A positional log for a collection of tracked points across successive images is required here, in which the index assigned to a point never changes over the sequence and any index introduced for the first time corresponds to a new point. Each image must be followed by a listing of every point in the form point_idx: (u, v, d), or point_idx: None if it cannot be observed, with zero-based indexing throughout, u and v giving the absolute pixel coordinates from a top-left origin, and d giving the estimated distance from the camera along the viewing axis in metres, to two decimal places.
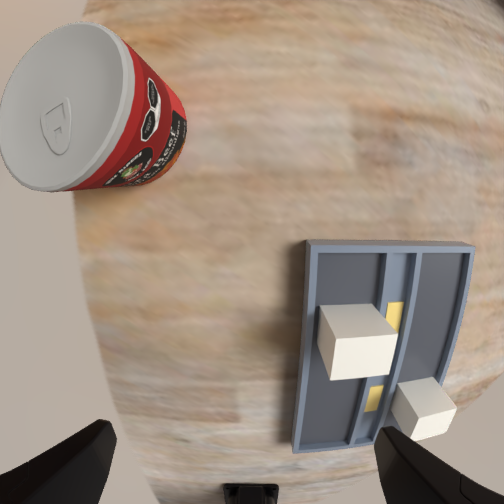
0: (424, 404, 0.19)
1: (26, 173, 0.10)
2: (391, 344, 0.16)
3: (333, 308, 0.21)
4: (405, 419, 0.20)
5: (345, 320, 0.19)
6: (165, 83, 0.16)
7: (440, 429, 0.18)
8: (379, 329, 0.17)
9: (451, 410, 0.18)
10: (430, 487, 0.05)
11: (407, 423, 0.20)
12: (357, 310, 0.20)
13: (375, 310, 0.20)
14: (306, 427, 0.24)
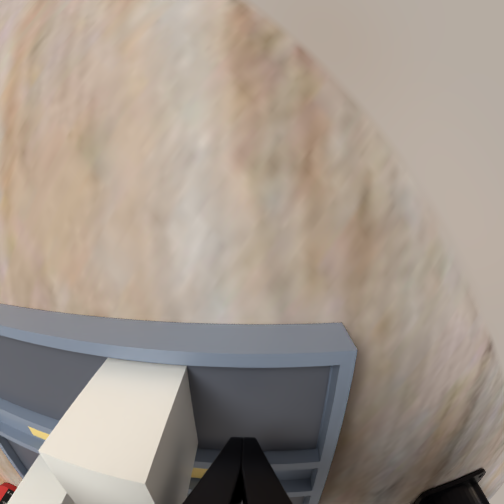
0: None
1: None
2: None
3: None
4: None
5: None
6: None
7: (127, 496, 0.05)
8: None
9: (52, 466, 0.05)
10: None
11: None
12: None
13: (34, 465, 0.10)
14: None
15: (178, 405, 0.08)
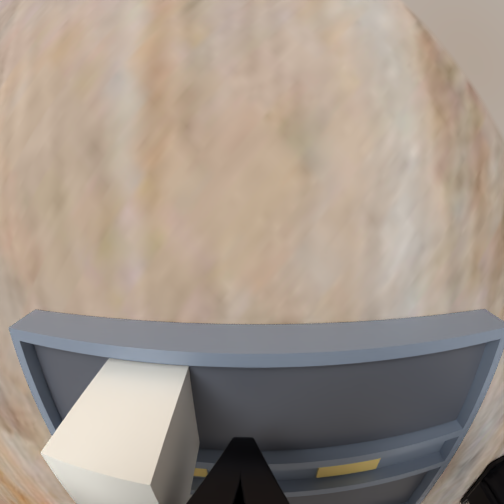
0: None
1: None
2: None
3: None
4: None
5: None
6: None
7: (131, 497, 0.05)
8: None
9: (54, 468, 0.05)
10: None
11: None
12: None
13: None
14: None
15: (181, 405, 0.08)
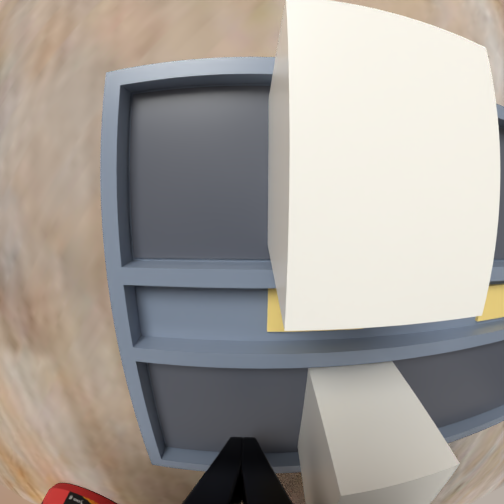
0: (277, 212, 0.05)
1: None
2: (367, 498, 0.04)
3: (301, 443, 0.09)
4: None
5: (309, 482, 0.07)
6: None
7: (462, 87, 0.03)
8: (326, 490, 0.05)
9: (304, 33, 0.03)
10: None
11: None
12: (308, 424, 0.08)
13: (314, 397, 0.08)
14: (502, 399, 0.10)
15: None
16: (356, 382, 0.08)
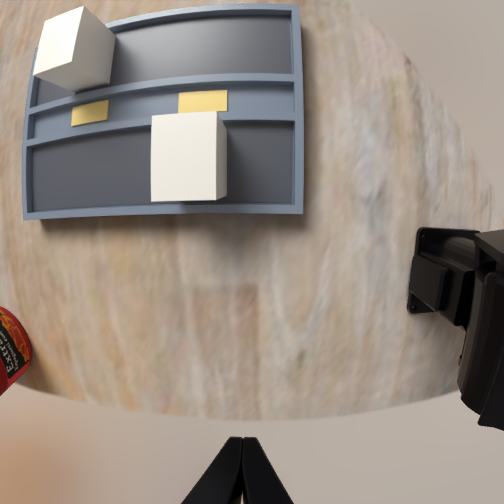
0: None
1: None
2: (165, 122, 0.12)
3: None
4: (68, 75, 0.13)
5: None
6: None
7: (71, 20, 0.11)
8: None
9: (45, 27, 0.11)
10: None
11: (64, 73, 0.13)
12: None
13: None
14: (250, 193, 0.18)
15: (106, 32, 0.14)
16: None
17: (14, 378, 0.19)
